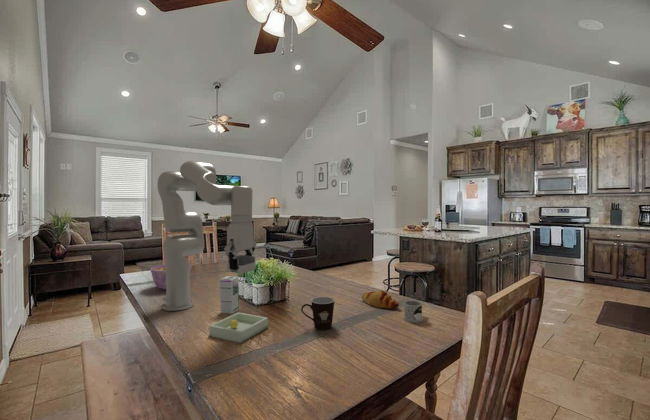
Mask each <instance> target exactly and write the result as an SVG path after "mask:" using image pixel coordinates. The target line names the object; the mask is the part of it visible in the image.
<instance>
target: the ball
mask: <svg viewBox="0 0 650 420" xmlns="http://www.w3.org/2000/svg"><path fill="white" fill-rule="evenodd" d="M237 326H238V322H237V320H232V321H231V322H230V327H231V328H233V329H234V328H236V327H237Z"/></svg>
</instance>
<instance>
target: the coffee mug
mask: <svg viewBox="0 0 650 420" xmlns="http://www.w3.org/2000/svg"><path fill="white" fill-rule="evenodd" d="M305 307H309V308H310V309H311V311H312V317H311V316H309V315H308V314H307V313H305V312H304V308H305ZM334 307H335V299H334V298H333V297H330V296H317V297H313V298H311V304H308V303H305V304H303V305H302V306H301V313H302V314H303V315H304V316H305V317H307V318H308V319H310V320H312V321H313V325H314V329H315V330H318V331H328V330H330V329H332V327H333V318H334V311H335V310H334Z"/></svg>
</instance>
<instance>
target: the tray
mask: <svg viewBox="0 0 650 420" xmlns="http://www.w3.org/2000/svg"><path fill="white" fill-rule="evenodd" d="M232 320H237V322H238V326H237V327H236V328H234V329H233V328H231V327H230V322H231V321H232ZM208 328H209V333H208V335H209V336H210V337H212V338H213V337H214V338H217V339H221V340H226V341H230V342H234V343H238V344H242V343H244V342H246V341H248V340H250V339H251V338H252V337H254V336H256V335H257V334H259V333H261V332H262V331H265V329H266V330H267V328H269V317H266V316H262V315H261V316H260V315H254V314H249V313H244V312H235V313H233V314H231V315H230V316H226V317H225V318H223V319H221V320H218V321H216V322H214V323H212V324H210V325H209V326H208Z"/></svg>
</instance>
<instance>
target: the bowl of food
mask: <svg viewBox="0 0 650 420" xmlns="http://www.w3.org/2000/svg"><path fill="white" fill-rule="evenodd" d="M189 268H190V271H191V269H192V264H189ZM150 272H151V276H152V280H153V283H154V285H155V286H156V287H157V288H159V289H162V290H163V291H166V264H160V265H157V266H153V267H150Z"/></svg>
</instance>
